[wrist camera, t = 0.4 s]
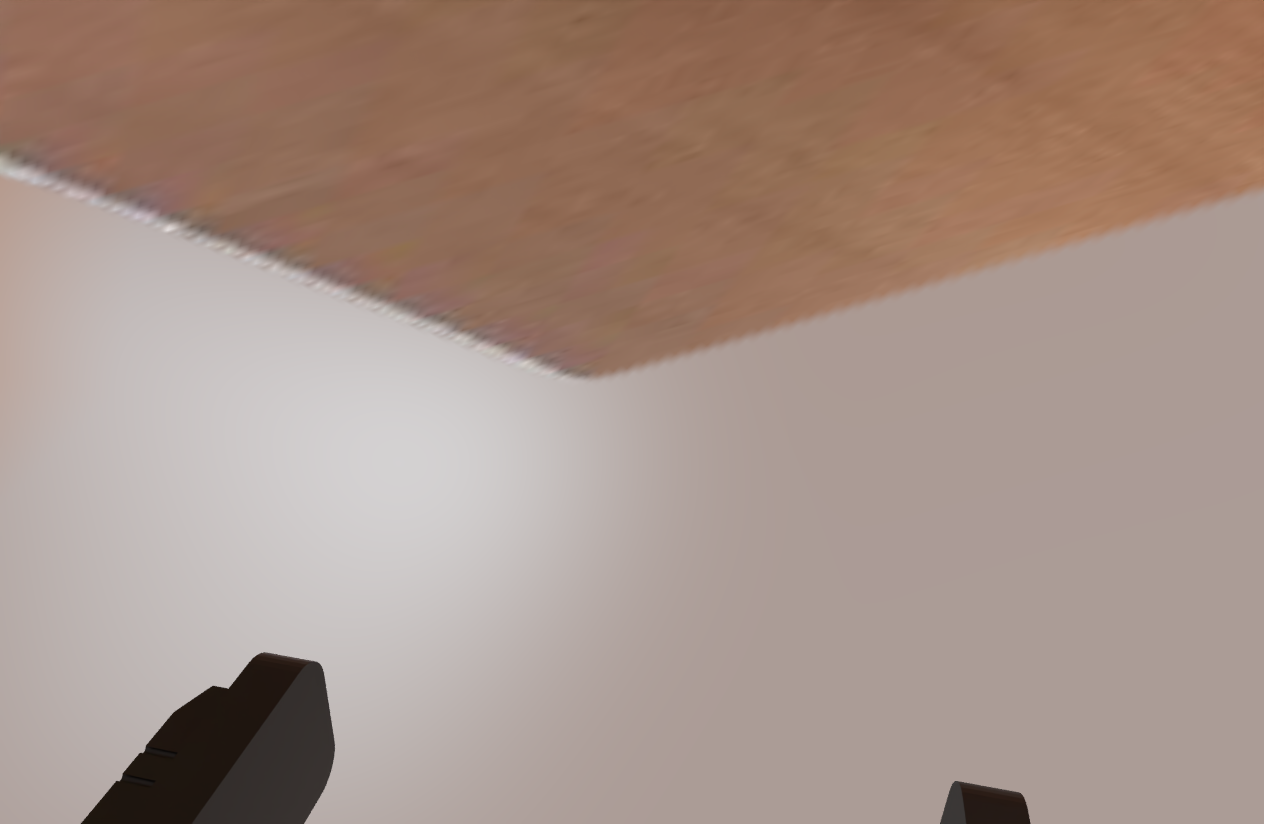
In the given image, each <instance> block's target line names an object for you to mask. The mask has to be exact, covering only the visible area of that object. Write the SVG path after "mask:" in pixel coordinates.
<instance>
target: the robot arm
mask: <svg viewBox="0 0 1264 824" xmlns="http://www.w3.org/2000/svg"><path fill="white" fill-rule="evenodd" d="M334 752H335V743H334V735H333V729H332V723H331V716H330V709H329V703H328V697H327V690H326V684H325V677H324V672H323V669H322V666H321V665H320V664H319V663H318V662H315V661H309V660H304V659H299V658H293V657H287V656H281V655H277V654H271V653H265V652H264V653H260V654H258V655H257V656H255V657H254V658H253V659H252V660H251V661H250V662H249V664H248V665H247V666H246V667H245V668H244V670H243V671H242V672H241V674H240V675H239V676H238V677H237V679H236V680H235V681H234V682H233V684H232V685H231V686H230V687H229V689H227V688H222V687H217V686H212V687H210V688H209V689H207V690H206V691H204V692H203V693H201V694H200V695H198V696H197V697H195V698H194V699H193V700H191V701H190V702H188V703H187V704H185V705H184V706H182V707H181V708H179V709H178V710H177V711H175V712H174V713H173V714H172V715H171V716H170V718H169V719H168V720H167V721H166V722H165V723H164V725H163V726H162V727H161V728H160V729H159V731H158V732H157V733H156V734H155V735H154V737H153V738H152V739H151V740H150V741H149V743H148V744H147V745H146V749H145V751H144V753H139V755H138V756H137V757H136V758H135V759H134V761H133V762H132V763H131V764H130V765H129V767H128V768H127V769H126V770H125V771H124V773H123V776H122V779H121V780H120V781H116V782H115V783H114V785H113V786H112V787H111V788H110V789H109V791H108V792H107V793H106V794H105V796H104V797H103V798H102V799H101V800H100V801H99V803H98V804H97V805H96V806H95V807H94V809H93V810H92V811H91V812H90V813H89V815H88V816H87V817H86V818H85V819H84V821H83V822H82V823H81V824H304V823H305V821H306V819H307V818H308V816H309V814H310V813H311V811H312V809H313V808H314V806H315V804H316V803H317V801H318V799H319V798H320V796H321V794H322V792H323V790H324V788H325V786H326V784H327V781H328V778H329V776H330V772H331V769H332V764H333V760H334ZM940 824H1030V819H1029V814H1028V809H1027V805H1026V802H1025V799H1024V797H1023V795H1022V794H1021V793H1019V792H1013V791H1008V790H1002V789H997V788H991V787H986V786H980V785H975V784H970V783H964V782H958V781H955V782H954V783H953V784H952V786H951V789H950V791H949V795H948V798H947V802H946V805H945V808H944V812H943V815H942V819H941V822H940Z"/></svg>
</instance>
